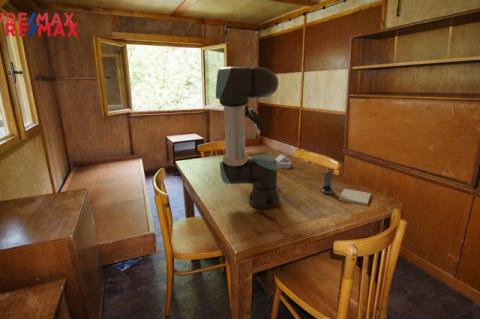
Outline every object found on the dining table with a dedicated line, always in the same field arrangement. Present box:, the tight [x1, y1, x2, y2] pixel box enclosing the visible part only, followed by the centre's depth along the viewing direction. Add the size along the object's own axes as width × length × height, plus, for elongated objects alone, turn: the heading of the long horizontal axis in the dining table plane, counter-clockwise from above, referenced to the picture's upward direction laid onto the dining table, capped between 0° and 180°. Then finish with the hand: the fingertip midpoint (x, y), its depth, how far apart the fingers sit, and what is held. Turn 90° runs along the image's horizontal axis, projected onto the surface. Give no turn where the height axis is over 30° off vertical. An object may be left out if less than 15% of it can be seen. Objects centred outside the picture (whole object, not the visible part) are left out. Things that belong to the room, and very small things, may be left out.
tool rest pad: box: [338, 188, 372, 206], centre depth 136 cm, size 13×13×1 cm
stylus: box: [320, 169, 334, 196], centre depth 142 cm, size 6×6×12 cm
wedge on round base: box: [274, 154, 292, 170], centre depth 188 cm, size 9×7×13 cm
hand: (248, 134), depth 166 cm, fingers open, 13 cm apart
